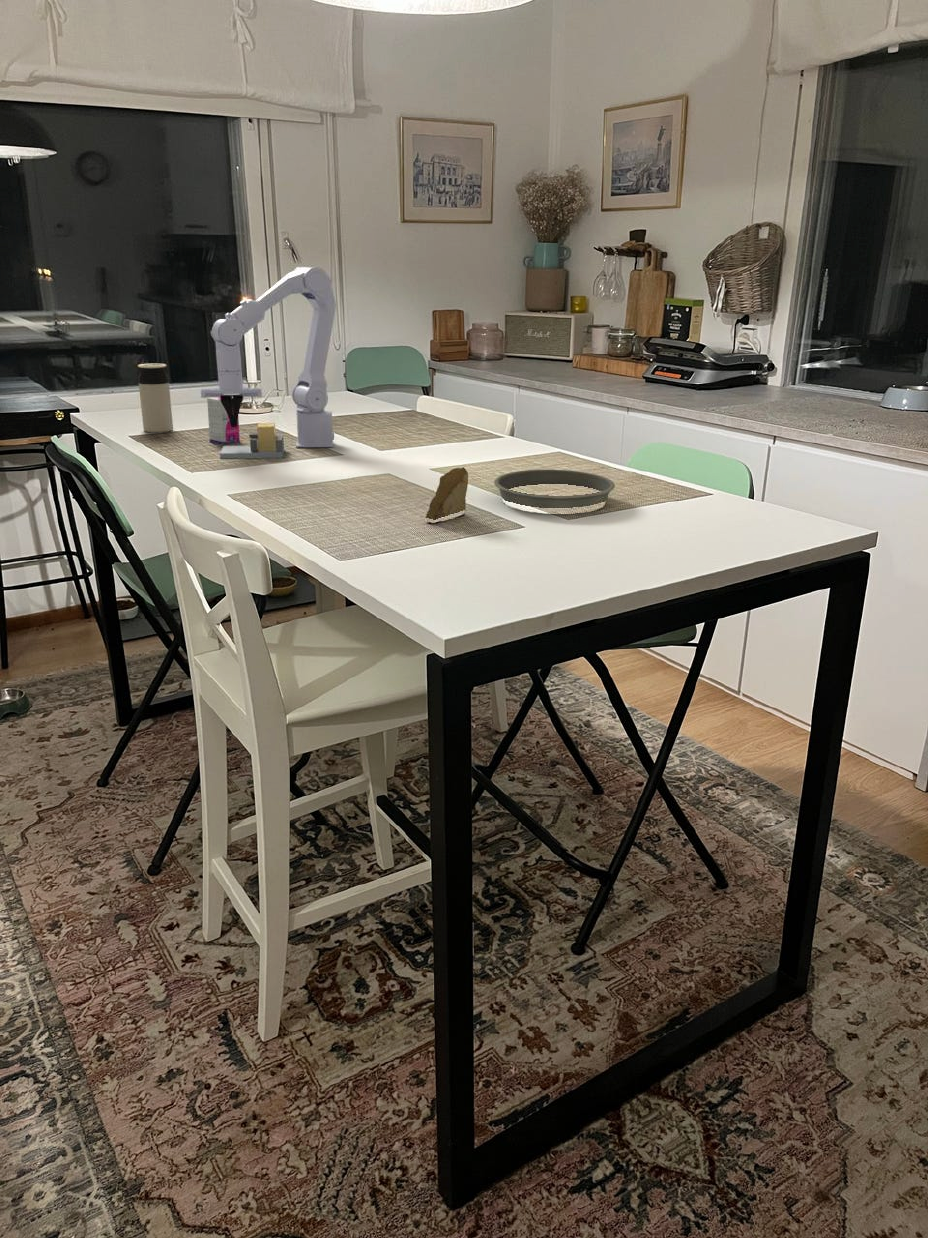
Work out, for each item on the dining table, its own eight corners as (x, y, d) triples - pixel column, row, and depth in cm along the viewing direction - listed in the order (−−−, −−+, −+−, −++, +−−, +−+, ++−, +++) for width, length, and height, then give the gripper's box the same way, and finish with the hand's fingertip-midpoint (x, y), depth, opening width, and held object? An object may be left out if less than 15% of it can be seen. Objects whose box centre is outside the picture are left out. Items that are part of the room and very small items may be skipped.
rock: (434, 517, 175) (482, 504, 179) (418, 475, 177) (465, 464, 180) (419, 539, 185) (464, 526, 189) (403, 499, 186) (449, 487, 190)
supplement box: (223, 444, 251) (220, 399, 247) (209, 441, 254) (205, 397, 250) (240, 441, 255) (237, 397, 251) (226, 438, 259) (223, 395, 255)
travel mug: (179, 430, 270) (173, 364, 264) (157, 433, 264) (150, 366, 257) (160, 427, 274) (153, 362, 268) (137, 430, 268) (130, 364, 261)
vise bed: (284, 449, 245) (283, 433, 244) (282, 457, 236) (281, 440, 234) (224, 450, 243) (222, 433, 242) (220, 458, 234) (218, 441, 232)
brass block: (276, 446, 243) (275, 422, 240) (275, 451, 237) (273, 426, 235) (260, 446, 242) (258, 422, 240) (258, 451, 237) (257, 426, 234)
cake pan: (474, 494, 203) (475, 473, 201) (575, 485, 212) (577, 465, 211) (526, 523, 182) (527, 499, 180) (636, 511, 191) (638, 489, 190)
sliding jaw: (260, 444, 243) (259, 430, 242) (258, 451, 235) (257, 436, 234) (251, 444, 243) (251, 430, 242) (249, 451, 235) (248, 436, 233)
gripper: (197, 372, 229) (202, 429, 234) (259, 372, 231) (263, 428, 236) (200, 369, 236) (205, 424, 241) (260, 368, 238) (264, 423, 243)
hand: (234, 426), depth 239 cm, fingers closed
